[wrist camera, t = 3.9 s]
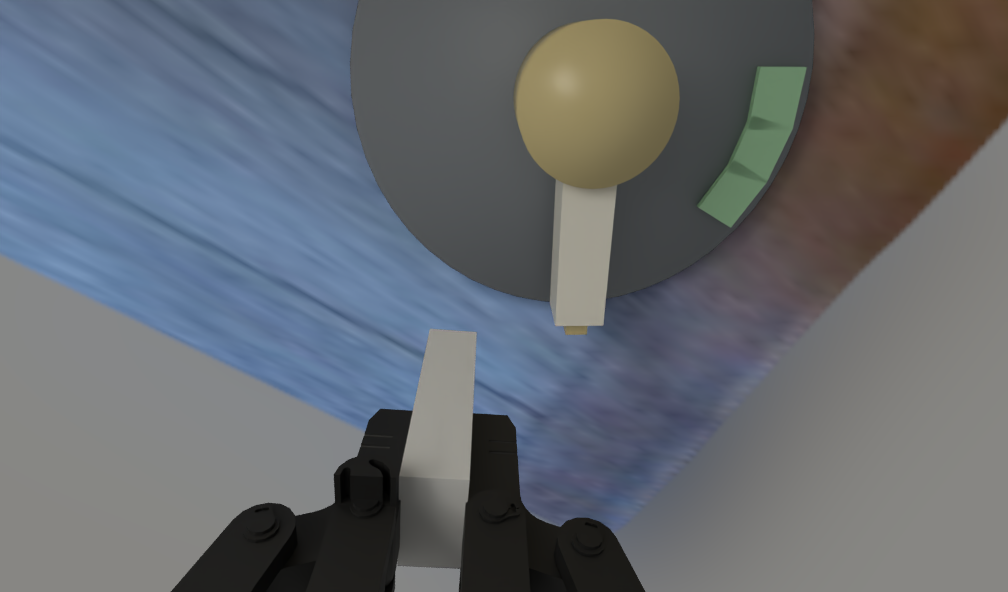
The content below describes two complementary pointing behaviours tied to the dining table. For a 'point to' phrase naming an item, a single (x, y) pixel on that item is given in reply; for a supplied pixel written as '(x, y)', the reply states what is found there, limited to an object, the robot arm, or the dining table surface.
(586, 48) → the round-headed handle
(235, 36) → the dining table surface
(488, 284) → the plate
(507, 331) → the dining table surface
